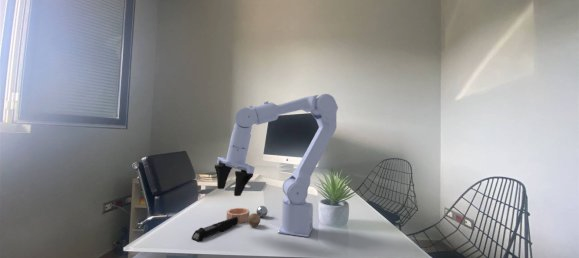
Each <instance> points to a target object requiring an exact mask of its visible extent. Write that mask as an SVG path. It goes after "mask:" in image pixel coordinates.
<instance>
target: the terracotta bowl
mask: <svg viewBox="0 0 579 258" xmlns="http://www.w3.org/2000/svg"><path fill="white" fill-rule="evenodd" d="M250 212H251V211H250V210H249V208H244V207H234V208H230V209H228V210H226V217H225V218H226V219H225V220H228V219H231V218H234V217H238V223H237V224H242V223H246V222H248V218H249V216H250Z"/></svg>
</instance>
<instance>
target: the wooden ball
mask: <svg viewBox="0 0 579 258" xmlns="http://www.w3.org/2000/svg"><path fill="white" fill-rule="evenodd" d="M247 223H248V225H250V226H251V227H253V228H254V227H258V225H260V223H261V217H260V216H259V215H258V214H257V212H256V213H255V212H253V213H251V214H249V218H248V221H247Z"/></svg>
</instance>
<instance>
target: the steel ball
mask: <svg viewBox="0 0 579 258" xmlns="http://www.w3.org/2000/svg"><path fill="white" fill-rule="evenodd" d="M256 214H258V215H259V216H260V218H264V217H266V216H267V215H268V208H267V206H264V205H260V206H258V207H257V209H256Z"/></svg>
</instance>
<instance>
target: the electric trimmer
mask: <svg viewBox="0 0 579 258" xmlns="http://www.w3.org/2000/svg"><path fill="white" fill-rule="evenodd" d="M237 224H239V223H238V217H234V218H231V219H228V220H226V219H225V220H222V221H219V222H217V223H213V224H212V225H211V224H210V225H209V226H206V227H199V228H198V229H196V230H195V231H194V233H192V236H191V240H192V241H195V242H197V243H199V242H203V240H204V239H206V238H208V237H211V236H213V235H215V234H218V233H223V232H225V231H227V230H229V229H231V228H232V227H233V228H234V226H237Z"/></svg>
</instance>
